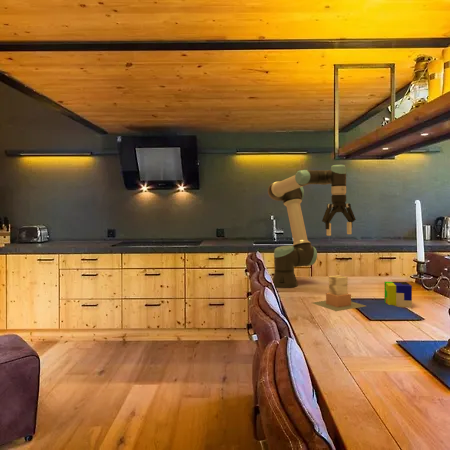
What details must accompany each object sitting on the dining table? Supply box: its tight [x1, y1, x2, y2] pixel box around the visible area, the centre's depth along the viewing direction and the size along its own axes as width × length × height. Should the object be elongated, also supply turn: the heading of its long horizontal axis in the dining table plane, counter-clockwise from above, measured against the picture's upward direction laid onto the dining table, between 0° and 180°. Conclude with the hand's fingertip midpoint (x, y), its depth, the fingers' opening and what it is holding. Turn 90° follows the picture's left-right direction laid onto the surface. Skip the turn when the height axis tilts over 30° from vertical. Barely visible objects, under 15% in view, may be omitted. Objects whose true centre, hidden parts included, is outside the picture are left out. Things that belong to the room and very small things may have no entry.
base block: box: [325, 292, 352, 307], centre depth 191 cm, size 8×8×5 cm
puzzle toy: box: [384, 281, 413, 309], centre depth 192 cm, size 10×10×10 cm
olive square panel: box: [312, 300, 366, 312], centre depth 191 cm, size 18×18×1 cm
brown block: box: [328, 274, 349, 296], centre depth 191 cm, size 6×6×8 cm
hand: (339, 234), depth 215 cm, fingers open, 13 cm apart
